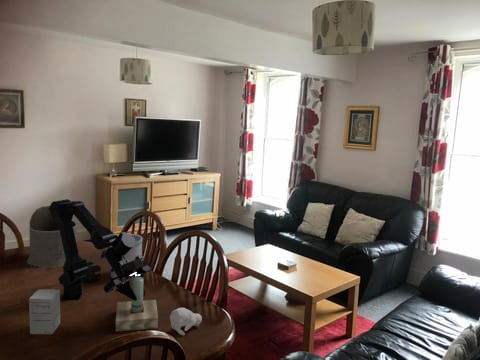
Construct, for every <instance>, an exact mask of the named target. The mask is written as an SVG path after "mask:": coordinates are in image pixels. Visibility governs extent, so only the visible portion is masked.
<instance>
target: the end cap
mask: <svg viewBox="0 0 480 360" xmlns="http://www.w3.org/2000/svg"><path fill="white" fill-rule="evenodd" d="M86 263H87V267H88V269H87V270H88V272H87V274H86V277H85V279H84V280H86V281H88V282H89V283H94V282H97V281H100V280H101V277H102V273H100V272H101V271H102V267H101V265H98V264H96V265H94V264H95V262H93V261H88V262H87V261H86ZM97 272H99V273H97ZM96 273H97V274H96Z"/></svg>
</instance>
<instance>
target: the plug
mask: <svg viewBox="0 0 480 360" xmlns="http://www.w3.org/2000/svg"><path fill="white" fill-rule="evenodd" d="M131 283H132V284H131V289H132V290H133V292H134V294H135V296H136V298H137V300H136V301H134V300H132V299H131V301H132V303H131V313H143V301H144V296H143V285H144V277H143V278H142V277H135V278H133V279H131Z"/></svg>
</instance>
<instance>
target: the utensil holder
mask: <svg viewBox="0 0 480 360" xmlns="http://www.w3.org/2000/svg"><path fill="white" fill-rule="evenodd" d="M128 234H129V235H131V236H132V237H134V238H135V240H136V245H135V246H134V247H133V248H132V249H131V250H130V251H129V252H128V253H127V254H126V255H124V257H125V258H126V259H128V258H129V259H130V261H133V260H135V257H137V256H139V255H142V256H143V237H142V235H140V234H136V233H128ZM116 235H117V236H119V234H116ZM110 247H112V246H110ZM109 268H110V276H111V279H113V278H115V277H117V276H116V274H115V272H111V269H112V267H111V266H110V267H109ZM135 271H136V270H135ZM130 277H131V276H130Z"/></svg>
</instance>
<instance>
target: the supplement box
mask: <svg viewBox="0 0 480 360" xmlns="http://www.w3.org/2000/svg"><path fill="white" fill-rule="evenodd" d="M60 295H61V290H60V289H52V288H51V289H50V288H49V289H42V288H40V289H39V288H38V289H37V290H36V291H35V292H34V293H33V294H32V295H31V296H30V297H29V298H28V303H29V306H28V307H29V309H28V310H29V313H28V314H29V334H31V335H53V334H54V333H55V331H56V329H57V328H58V327H59V326H60V323H61V296H60Z"/></svg>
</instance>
